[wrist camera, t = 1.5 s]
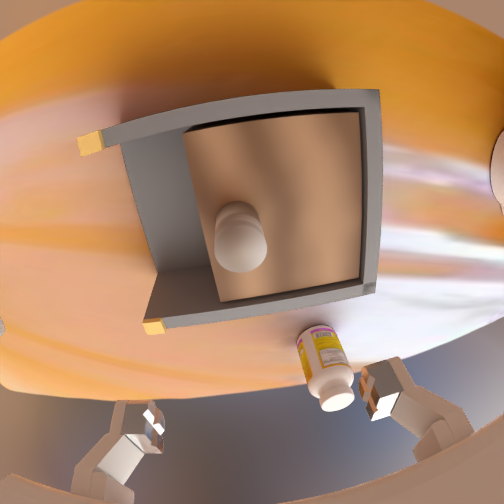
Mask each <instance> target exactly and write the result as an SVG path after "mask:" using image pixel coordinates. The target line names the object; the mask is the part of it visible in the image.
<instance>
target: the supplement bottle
mask: <svg viewBox="0 0 504 504" xmlns="http://www.w3.org/2000/svg"><path fill="white" fill-rule="evenodd" d="M297 349H298V353H299V356H300V360H301V363H302V367H303V370H304V374H305V377H306V381H307V385H308V388H309V391H310V393H311V394H312V395H313V396H315V397H318V398H320V405H321V408H322V409H323V410H325V411H336V410H340V409H342V408H345V407H346V406H348V405H349V404H350V403H351V402H352V401H353V400H354V394H353V391H352V389H351V388H350V386H351V385H352V382H353V379H354V375H353V372H352V370H351V367H350V365H349V362H348V360H347V358H346V355H345V353H344V351H343V348H342V346H341V344H340V341H339V339H338V337H337V334H336V332H335V331H334V330H333V329H332V328H331V327H328V326H324V325H319V326H314V327H311V328H309V329H307V330H306V331H304V332H303V333H302V334H301V335H300V336H299V338H298V340H297Z"/></svg>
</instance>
